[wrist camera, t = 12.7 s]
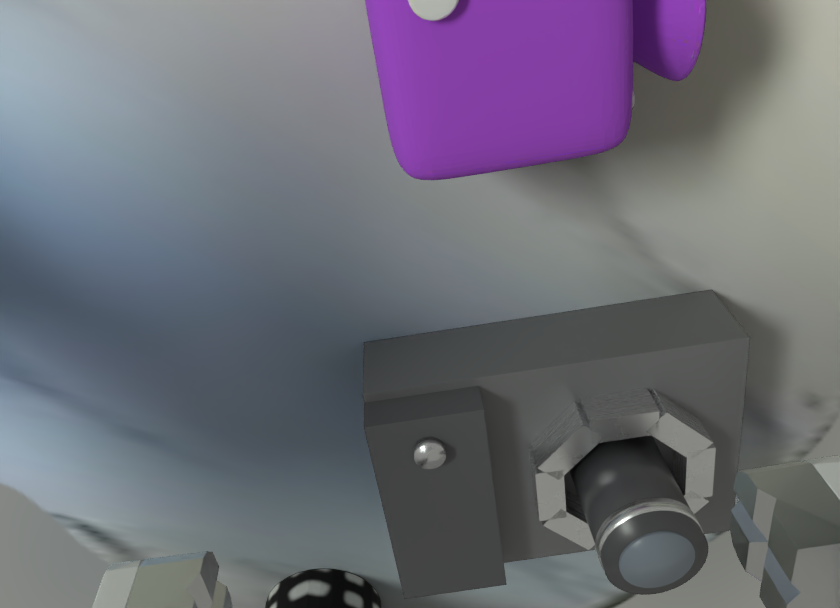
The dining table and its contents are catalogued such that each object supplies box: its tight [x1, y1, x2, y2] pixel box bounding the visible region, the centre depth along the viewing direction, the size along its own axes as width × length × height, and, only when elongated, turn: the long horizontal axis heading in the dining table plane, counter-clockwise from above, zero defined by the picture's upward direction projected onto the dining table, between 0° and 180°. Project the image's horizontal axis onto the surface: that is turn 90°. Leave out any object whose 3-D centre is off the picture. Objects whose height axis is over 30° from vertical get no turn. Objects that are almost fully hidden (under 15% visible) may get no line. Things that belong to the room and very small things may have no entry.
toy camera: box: [365, 0, 707, 180], centre depth 30 cm, size 11×14×10 cm
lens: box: [569, 435, 708, 594], centre depth 39 cm, size 5×5×7 cm
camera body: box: [363, 290, 750, 599], centre depth 43 cm, size 20×14×8 cm
